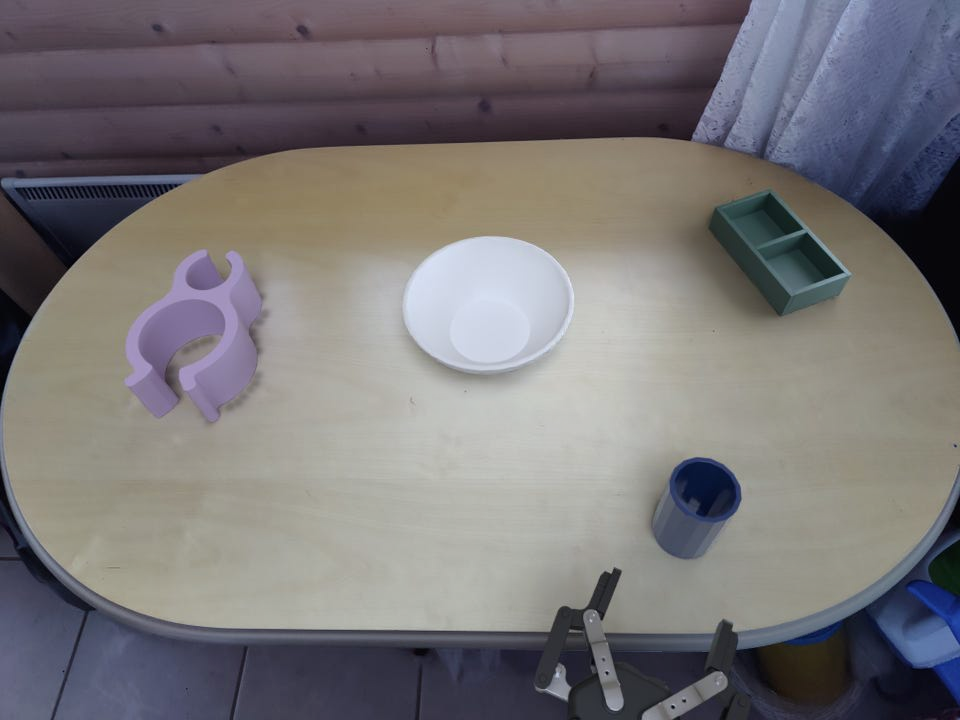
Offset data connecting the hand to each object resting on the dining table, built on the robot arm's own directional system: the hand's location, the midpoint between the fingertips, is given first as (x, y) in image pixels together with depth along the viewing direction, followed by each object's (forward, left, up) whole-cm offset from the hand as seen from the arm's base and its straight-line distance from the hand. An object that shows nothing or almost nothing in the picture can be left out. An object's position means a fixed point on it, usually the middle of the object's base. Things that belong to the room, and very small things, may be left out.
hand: (669, 596), depth 52 cm
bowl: (+29, -23, -13) cm, 40 cm away
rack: (+3, -50, -13) cm, 52 cm away
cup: (0, -11, -13) cm, 17 cm away
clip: (+58, -5, -13) cm, 60 cm away
